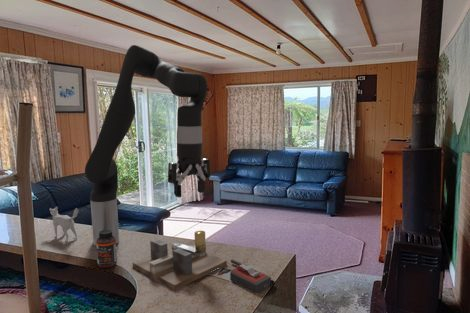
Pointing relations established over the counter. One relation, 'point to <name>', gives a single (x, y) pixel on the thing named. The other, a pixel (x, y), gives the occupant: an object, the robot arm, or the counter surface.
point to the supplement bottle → (106, 249)
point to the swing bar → (199, 245)
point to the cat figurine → (63, 222)
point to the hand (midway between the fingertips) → (189, 194)
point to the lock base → (178, 277)
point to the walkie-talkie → (250, 277)
